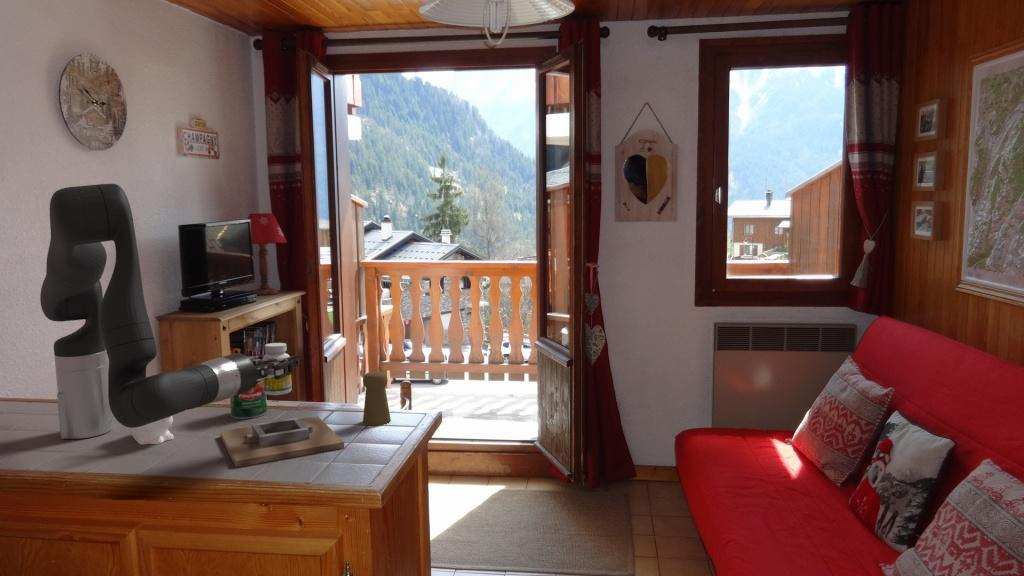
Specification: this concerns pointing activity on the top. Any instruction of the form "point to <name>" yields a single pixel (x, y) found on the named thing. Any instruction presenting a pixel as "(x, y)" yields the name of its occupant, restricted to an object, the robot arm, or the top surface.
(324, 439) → the holder
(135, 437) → the rabbit
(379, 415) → the cork
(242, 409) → the canned tomato
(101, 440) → the top surface
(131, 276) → the robot arm
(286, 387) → the supplement bottle
